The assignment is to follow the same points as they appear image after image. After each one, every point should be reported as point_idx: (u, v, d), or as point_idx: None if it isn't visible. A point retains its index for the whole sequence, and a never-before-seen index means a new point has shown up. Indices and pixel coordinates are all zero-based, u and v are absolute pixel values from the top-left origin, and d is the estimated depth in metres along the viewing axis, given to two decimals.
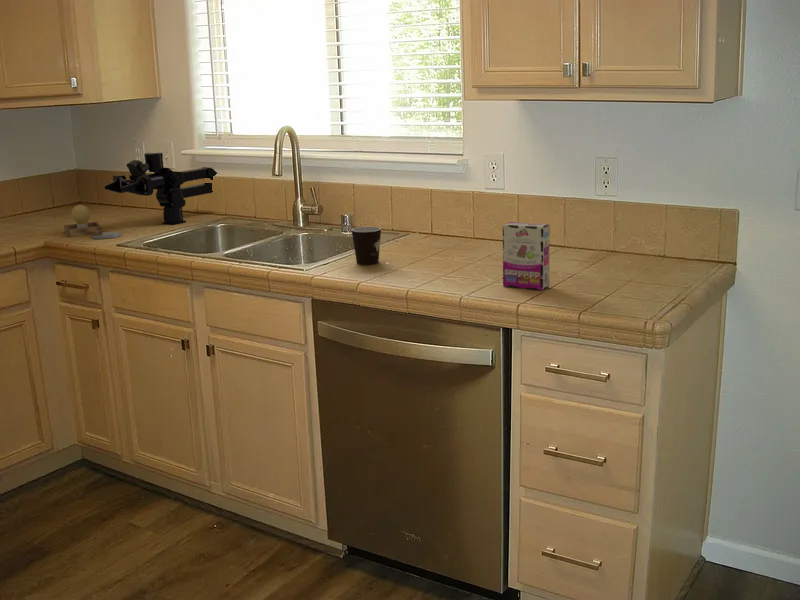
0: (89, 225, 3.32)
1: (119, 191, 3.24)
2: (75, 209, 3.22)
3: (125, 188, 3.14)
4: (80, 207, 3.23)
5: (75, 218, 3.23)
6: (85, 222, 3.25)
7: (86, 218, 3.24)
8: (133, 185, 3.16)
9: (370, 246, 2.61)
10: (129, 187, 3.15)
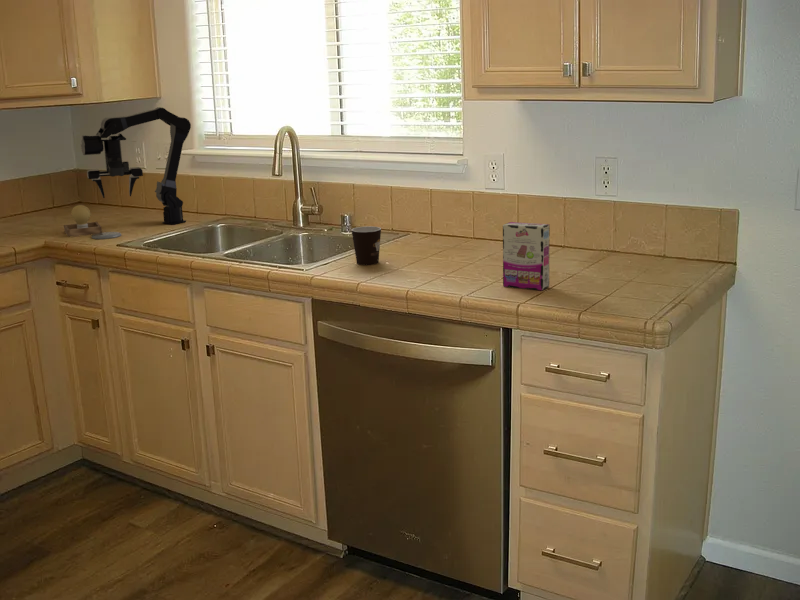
0: (89, 225, 3.32)
1: None
2: (75, 209, 3.22)
3: (131, 192, 3.29)
4: (80, 207, 3.23)
5: (75, 218, 3.23)
6: (85, 222, 3.25)
7: (86, 218, 3.24)
8: None
9: (370, 246, 2.61)
10: (132, 188, 3.29)
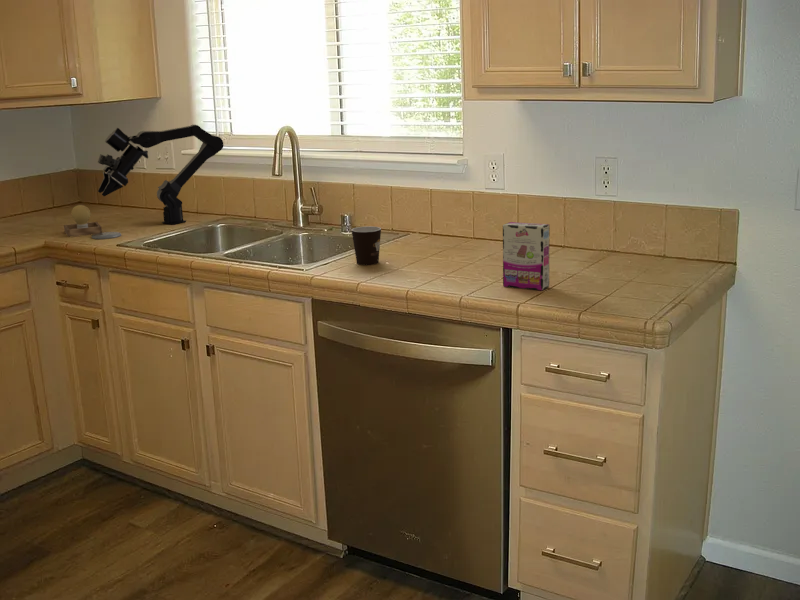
0: (89, 225, 3.32)
1: None
2: (75, 209, 3.22)
3: (105, 192, 3.22)
4: (80, 207, 3.23)
5: (75, 218, 3.23)
6: (85, 222, 3.25)
7: (86, 218, 3.24)
8: (108, 185, 3.21)
9: (370, 246, 2.61)
10: (107, 189, 3.22)
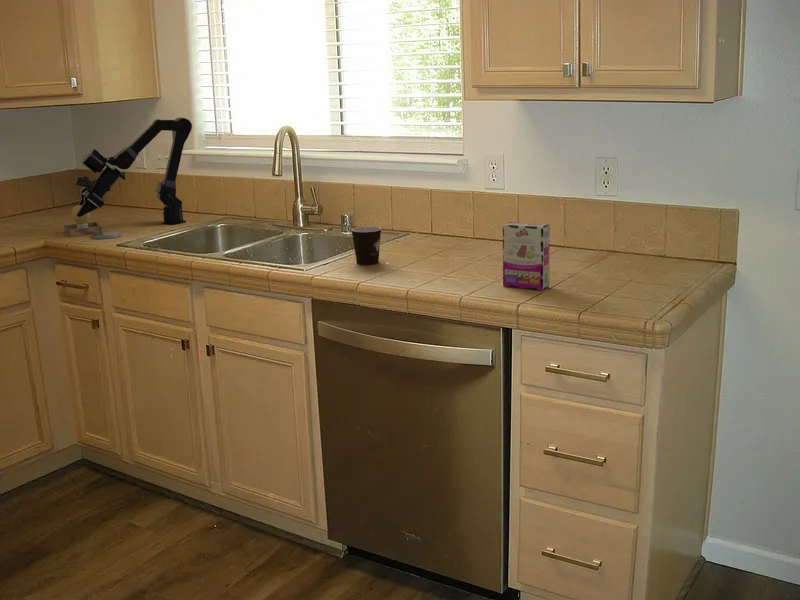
0: (89, 225, 3.32)
1: None
2: (75, 209, 3.22)
3: (80, 213, 3.21)
4: (80, 207, 3.23)
5: (75, 218, 3.23)
6: (85, 222, 3.25)
7: (86, 218, 3.24)
8: (84, 206, 3.21)
9: (370, 246, 2.61)
10: (82, 210, 3.21)
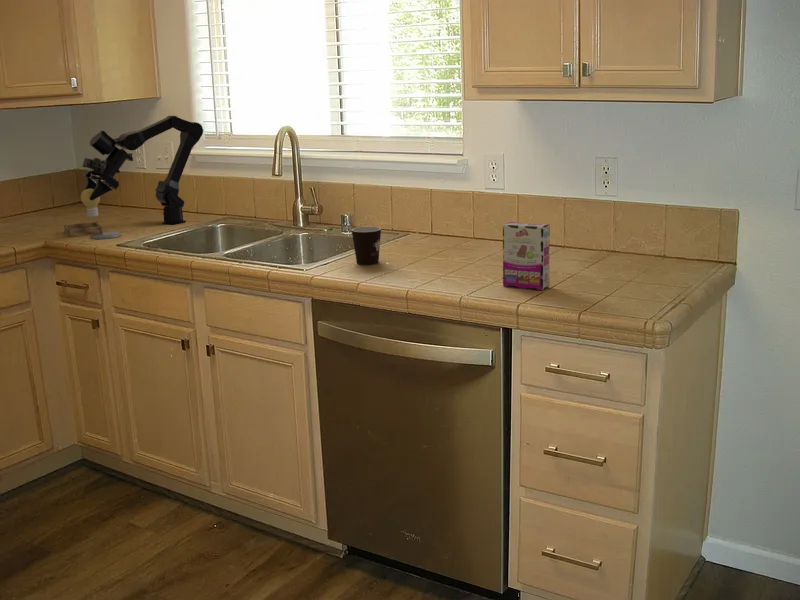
0: (89, 225, 3.32)
1: None
2: (86, 193, 3.15)
3: (92, 196, 3.15)
4: (90, 191, 3.16)
5: (86, 202, 3.16)
6: (96, 206, 3.19)
7: (97, 201, 3.18)
8: (97, 189, 3.14)
9: (370, 246, 2.61)
10: (95, 193, 3.15)
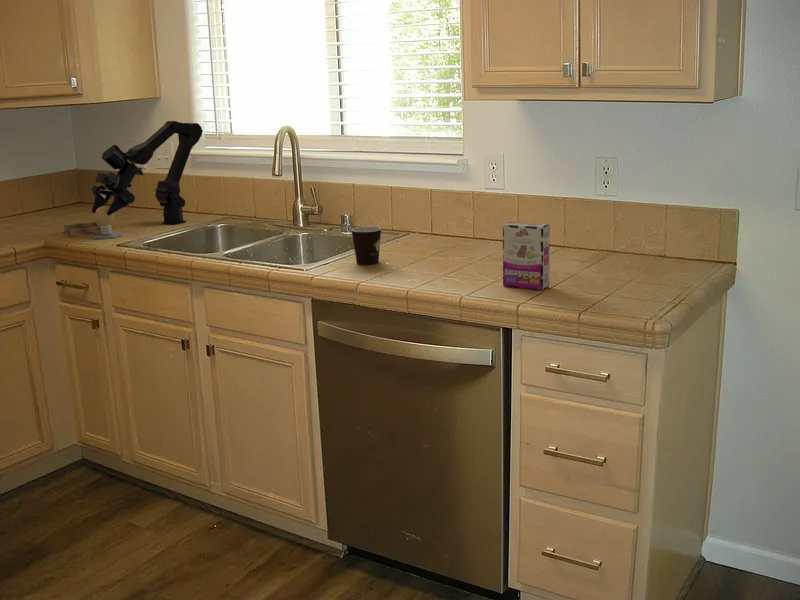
0: (89, 225, 3.32)
1: (106, 201, 3.22)
2: (102, 210, 3.14)
3: (110, 211, 3.13)
4: (106, 208, 3.15)
5: (102, 219, 3.14)
6: (110, 223, 3.18)
7: (112, 219, 3.17)
8: (114, 203, 3.13)
9: (370, 246, 2.61)
10: (112, 208, 3.13)
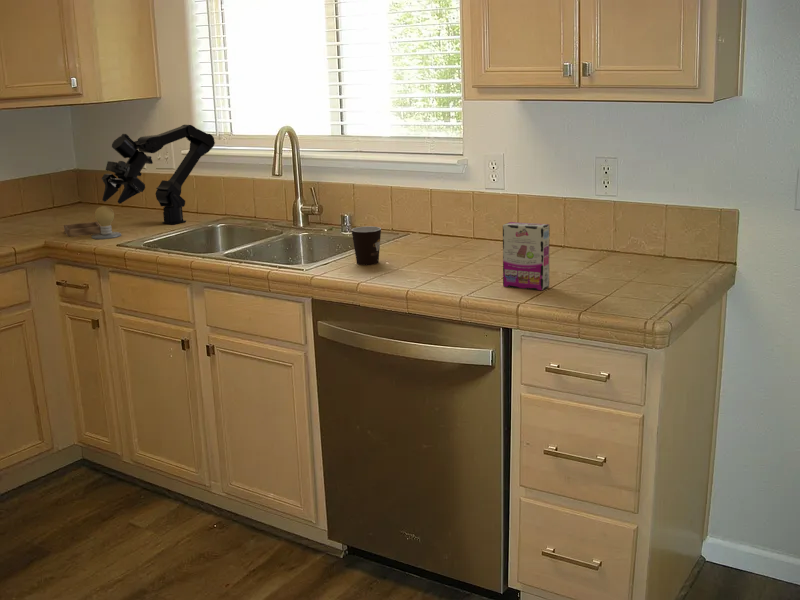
0: (89, 225, 3.32)
1: (116, 190, 3.25)
2: (102, 210, 3.14)
3: (121, 200, 3.15)
4: (106, 208, 3.15)
5: (102, 219, 3.14)
6: (110, 223, 3.18)
7: (112, 219, 3.17)
8: (125, 192, 3.15)
9: (370, 246, 2.61)
10: (123, 196, 3.15)
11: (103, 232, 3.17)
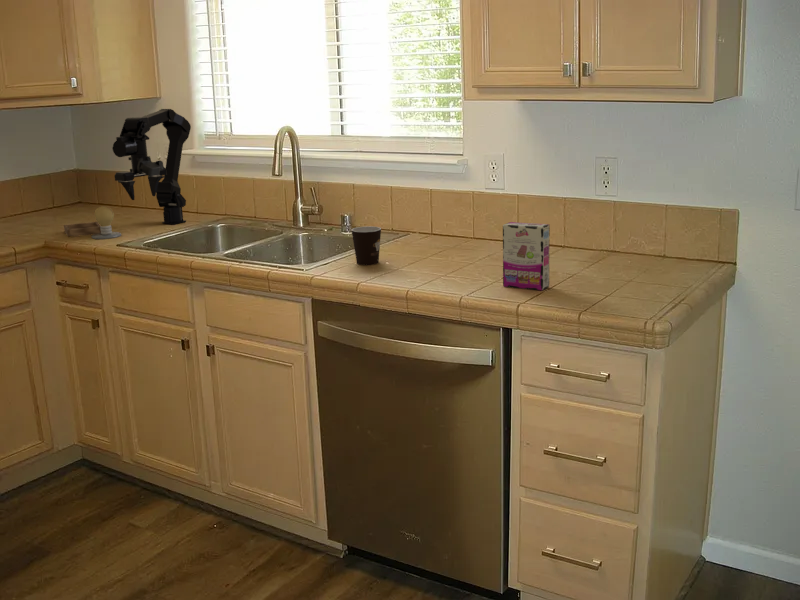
0: (89, 225, 3.32)
1: None
2: (102, 210, 3.14)
3: None
4: (105, 208, 3.15)
5: (102, 220, 3.14)
6: (110, 223, 3.18)
7: (112, 219, 3.17)
8: None
9: (370, 246, 2.61)
10: None
11: (103, 232, 3.17)
